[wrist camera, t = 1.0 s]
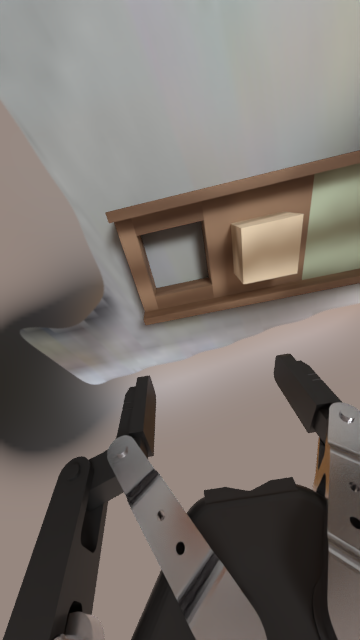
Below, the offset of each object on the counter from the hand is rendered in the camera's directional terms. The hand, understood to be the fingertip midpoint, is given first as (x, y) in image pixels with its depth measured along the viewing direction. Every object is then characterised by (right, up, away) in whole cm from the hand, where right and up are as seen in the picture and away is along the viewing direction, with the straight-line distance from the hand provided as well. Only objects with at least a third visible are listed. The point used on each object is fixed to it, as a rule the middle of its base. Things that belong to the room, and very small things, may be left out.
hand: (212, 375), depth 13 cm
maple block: (+7, +13, +12) cm, 19 cm away
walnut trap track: (+12, +15, +14) cm, 24 cm away
